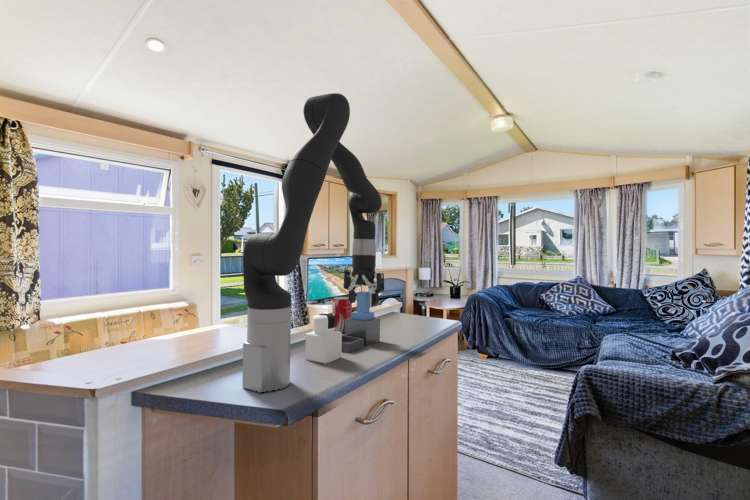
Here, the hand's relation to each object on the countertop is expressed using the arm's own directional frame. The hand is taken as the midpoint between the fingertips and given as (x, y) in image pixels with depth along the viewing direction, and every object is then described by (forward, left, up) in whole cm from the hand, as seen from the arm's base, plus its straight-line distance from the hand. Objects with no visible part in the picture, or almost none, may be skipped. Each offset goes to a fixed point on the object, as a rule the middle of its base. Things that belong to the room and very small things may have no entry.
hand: (363, 304), depth 124 cm
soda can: (+8, +15, -12) cm, 21 cm away
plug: (0, 0, -6) cm, 6 cm away
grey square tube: (0, 0, -12) cm, 12 cm away
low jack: (-9, 0, -12) cm, 15 cm away
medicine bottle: (-22, -2, -12) cm, 25 cm away
